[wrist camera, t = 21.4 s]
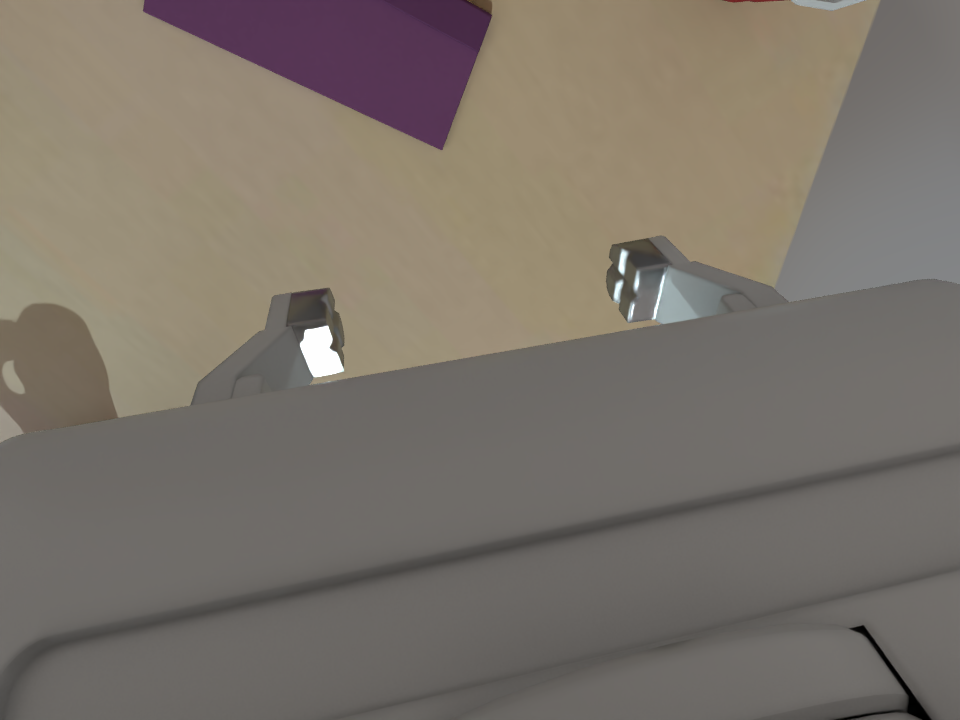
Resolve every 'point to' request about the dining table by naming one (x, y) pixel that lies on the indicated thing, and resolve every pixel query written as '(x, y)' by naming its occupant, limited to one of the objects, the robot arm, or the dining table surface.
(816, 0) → the plastic cup
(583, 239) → the dining table surface
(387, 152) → the dining table surface
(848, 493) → the robot arm
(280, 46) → the purple flat rectangular panel
